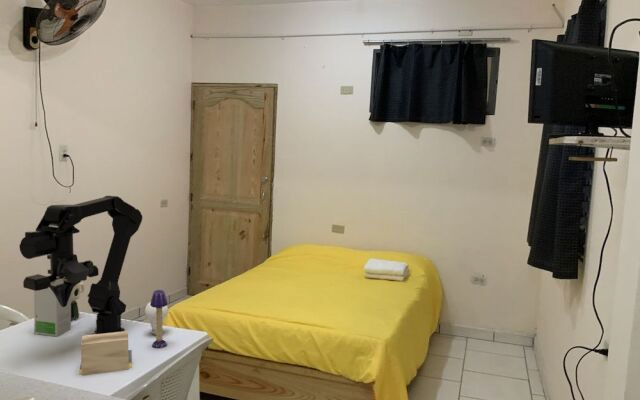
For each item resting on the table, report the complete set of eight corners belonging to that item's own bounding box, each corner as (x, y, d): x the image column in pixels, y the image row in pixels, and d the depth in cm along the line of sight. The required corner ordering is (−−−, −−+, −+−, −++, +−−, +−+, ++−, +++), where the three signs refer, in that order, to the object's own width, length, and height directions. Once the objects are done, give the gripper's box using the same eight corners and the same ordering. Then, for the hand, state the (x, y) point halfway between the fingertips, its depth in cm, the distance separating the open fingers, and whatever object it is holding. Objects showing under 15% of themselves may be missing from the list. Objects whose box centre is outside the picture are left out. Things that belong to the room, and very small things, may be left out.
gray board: (82, 357, 138) (82, 355, 138) (131, 351, 142) (131, 349, 142) (78, 375, 127) (78, 374, 127) (131, 369, 131) (131, 367, 131)
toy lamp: (171, 347, 145) (170, 291, 143) (156, 352, 142) (155, 294, 140) (162, 342, 149) (161, 287, 147) (147, 347, 145) (146, 290, 143)
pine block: (83, 365, 132) (82, 335, 131) (128, 359, 136) (128, 331, 135) (81, 375, 126) (80, 344, 126) (128, 369, 130) (128, 339, 129)
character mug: (56, 326, 159) (54, 286, 157) (46, 320, 163) (44, 281, 162) (90, 317, 167) (89, 279, 166) (79, 312, 172) (78, 275, 170)
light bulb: (148, 330, 157) (147, 296, 156) (170, 330, 158) (169, 296, 156) (142, 339, 151) (142, 303, 149) (165, 339, 151) (165, 303, 150)
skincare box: (34, 334, 152) (31, 284, 150) (50, 326, 159) (48, 278, 157) (57, 337, 150) (55, 286, 149) (73, 329, 157) (71, 280, 155)
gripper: (47, 262, 125) (49, 322, 127) (110, 249, 142) (112, 302, 143) (20, 256, 131) (23, 314, 133) (85, 244, 147) (86, 296, 149)
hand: (63, 306), depth 139 cm, fingers closed
